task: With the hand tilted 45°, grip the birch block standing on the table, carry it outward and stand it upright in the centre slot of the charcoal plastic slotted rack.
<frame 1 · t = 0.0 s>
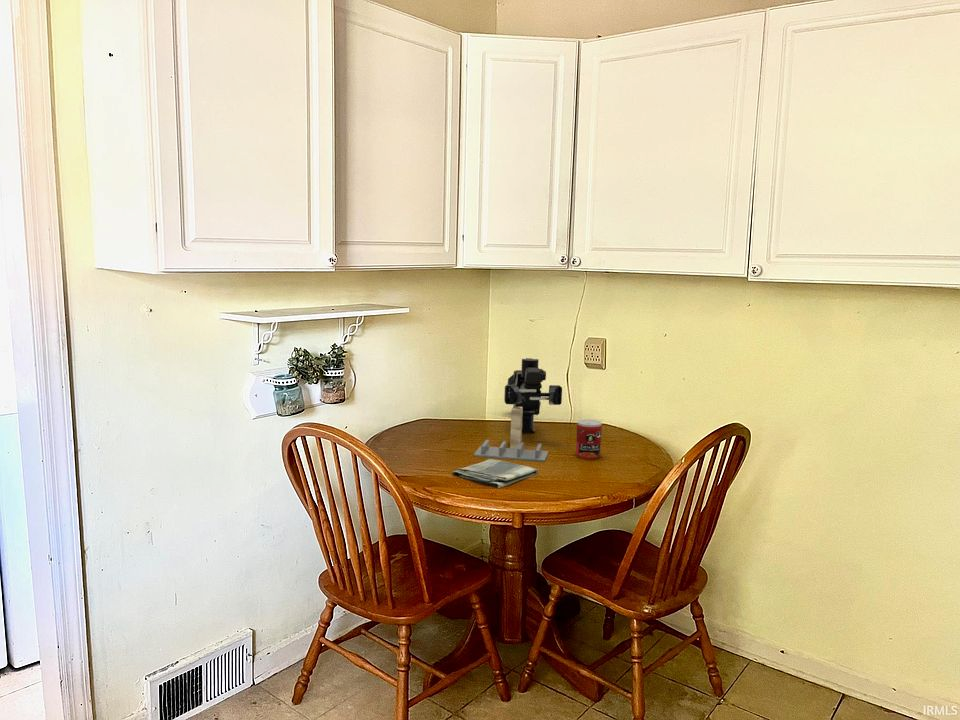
hand: (536, 400, 230), 17 cm above the table, tool horizontal, fingers open, 9 cm apart
canned food: (587, 456, 228), on the table
dish towel: (494, 477, 207), on the table
birch block: (515, 447, 236), on the table
slotted rack: (511, 454, 227), on the table
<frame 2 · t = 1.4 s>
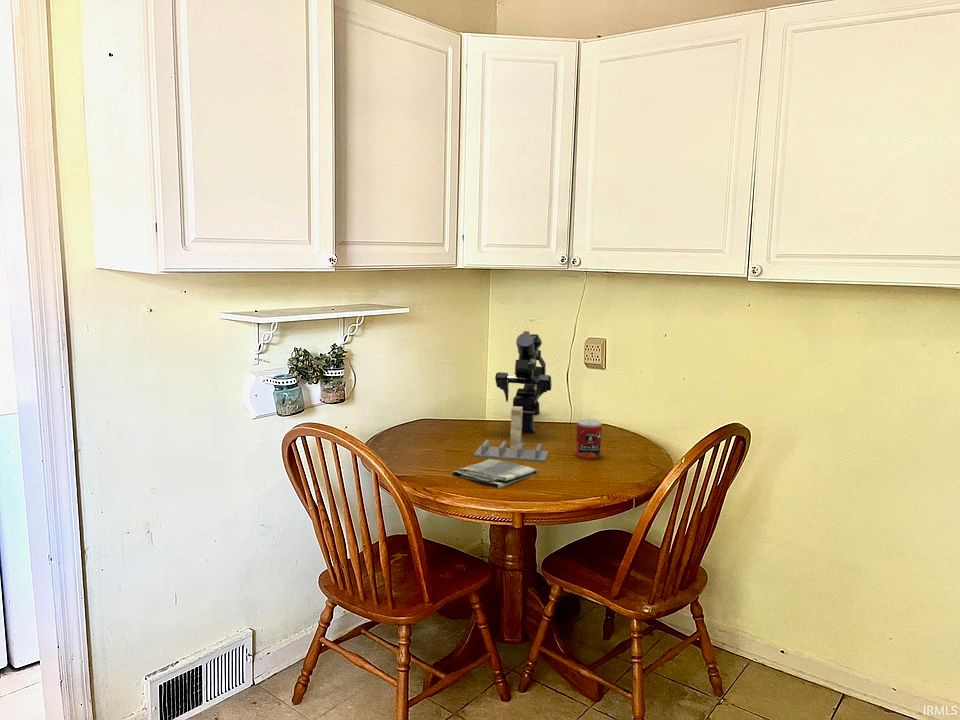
hand: (520, 402, 241), 13 cm above the table, tool tilted 45°, fingers open, 9 cm apart
nothing on the table moved.
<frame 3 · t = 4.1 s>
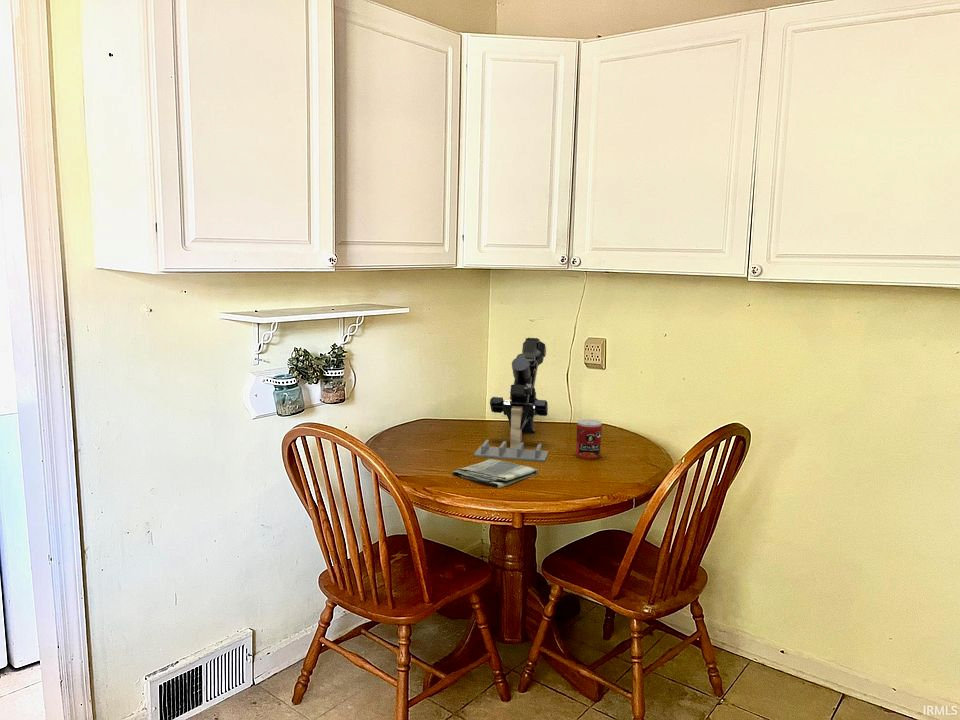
hand: (515, 428, 233), 7 cm above the table, tool tilted 45°, fingers closed on birch block, 3 cm apart
birch block: (515, 447, 236), on the table, touching gripper
everything else where it was.
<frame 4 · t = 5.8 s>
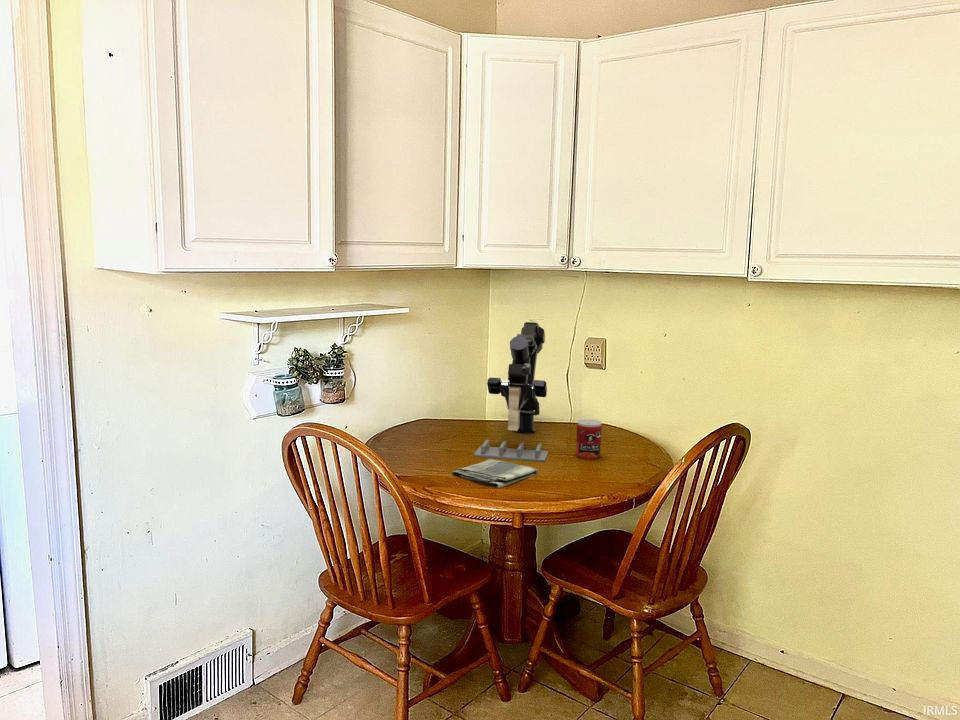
hand: (513, 409, 227), 14 cm above the table, tool tilted 45°, fingers closed on birch block, 3 cm apart
birch block: (513, 428, 229), point 8 cm above the table, touching gripper
everything else where it was.
when the fingers open (9 cm above the table, at t = 7.4 s): birch block drops 1 cm, resting on slotted rack.
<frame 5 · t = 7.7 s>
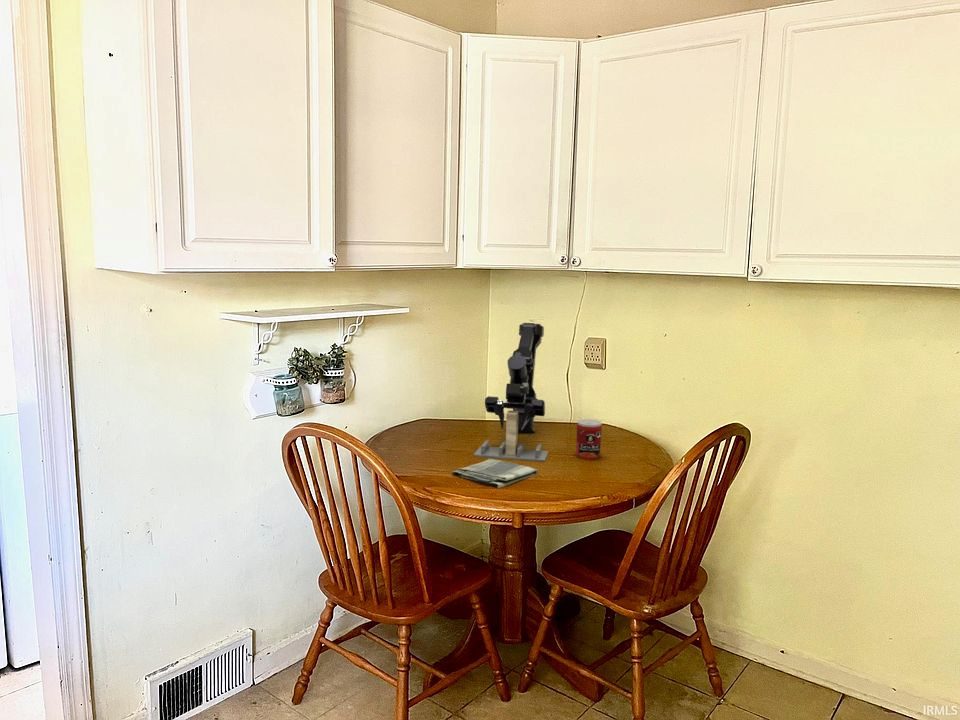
hand: (511, 429, 224), 9 cm above the table, tool tilted 45°, fingers open, 6 cm apart
birch block: (511, 452, 227), point 1 cm above the table, touching slotted rack
everything else where it was.
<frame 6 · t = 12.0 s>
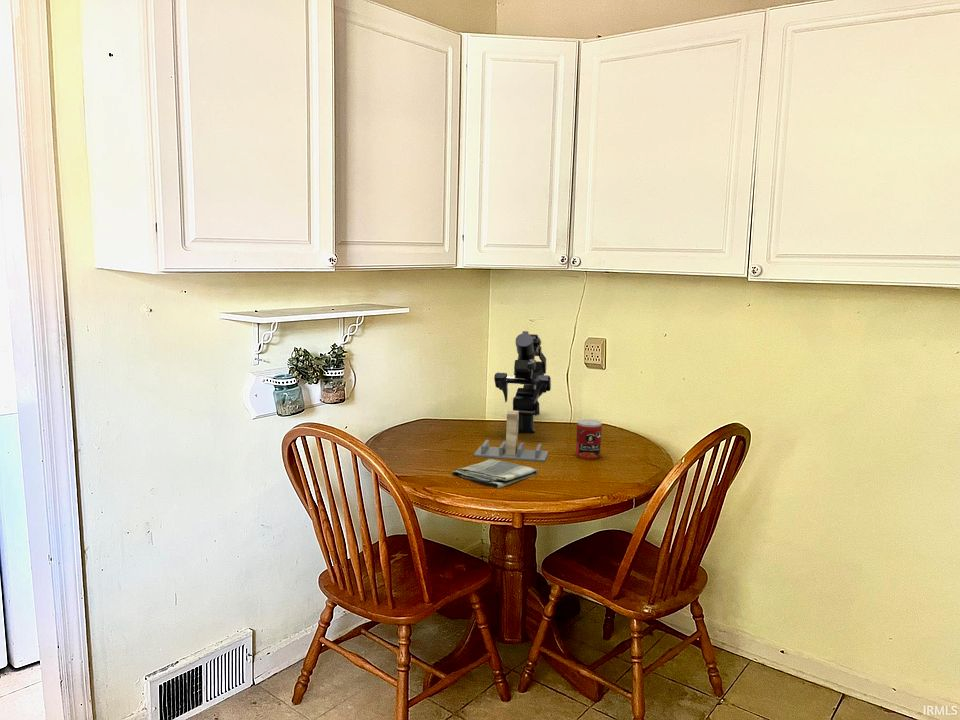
hand: (519, 402, 239), 14 cm above the table, tool tilted 45°, fingers open, 9 cm apart
nothing on the table moved.
at the end: birch block 0.0 cm off-centre on the slotted rack, point 0.6 cm above the slotted rack's base; birch block tilted 0°; the gripper is holding nothing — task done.
